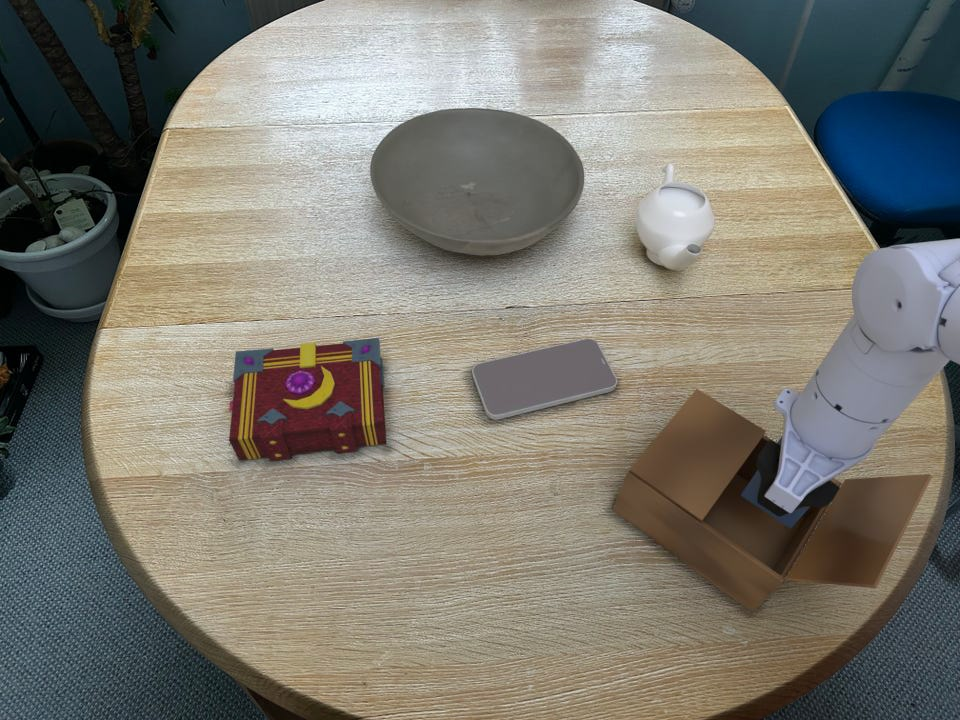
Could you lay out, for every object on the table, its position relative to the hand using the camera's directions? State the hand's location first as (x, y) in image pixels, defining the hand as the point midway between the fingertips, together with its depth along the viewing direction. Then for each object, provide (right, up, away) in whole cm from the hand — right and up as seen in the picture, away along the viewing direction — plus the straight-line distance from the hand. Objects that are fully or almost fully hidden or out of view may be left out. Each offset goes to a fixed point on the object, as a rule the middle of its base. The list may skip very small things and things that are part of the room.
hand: (783, 485), depth 56 cm
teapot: (-1, +24, +33) cm, 41 cm away
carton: (-3, -5, +10) cm, 11 cm away
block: (0, -1, +1) cm, 1 cm away
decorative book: (-43, +5, +16) cm, 46 cm away
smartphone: (-18, +8, +19) cm, 28 cm away
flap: (+4, -3, -3) cm, 6 cm away
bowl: (-26, +30, +37) cm, 54 cm away
